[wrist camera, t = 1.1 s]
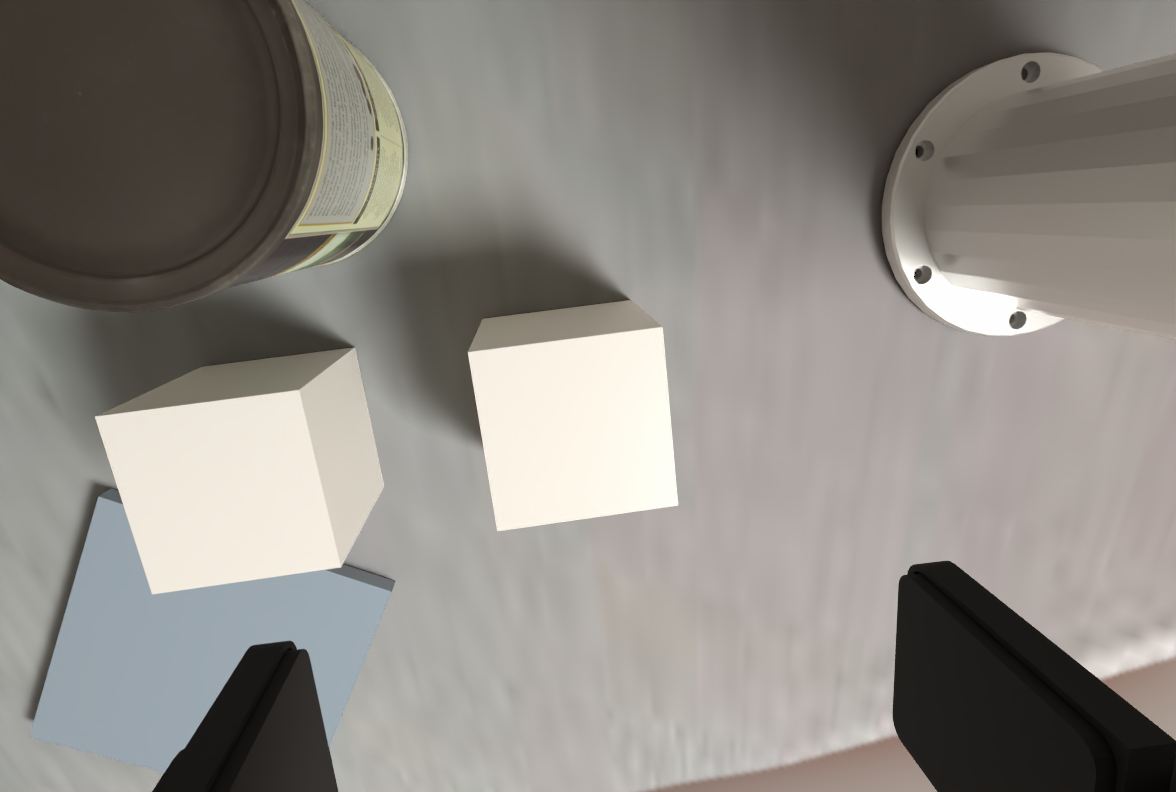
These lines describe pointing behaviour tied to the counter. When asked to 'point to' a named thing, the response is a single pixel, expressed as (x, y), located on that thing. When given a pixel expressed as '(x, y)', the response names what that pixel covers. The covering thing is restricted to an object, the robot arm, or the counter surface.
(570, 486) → the plain white cube box
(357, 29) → the counter surface
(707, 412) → the counter surface
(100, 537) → the slate board
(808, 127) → the counter surface
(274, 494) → the white box
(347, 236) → the coffee can
